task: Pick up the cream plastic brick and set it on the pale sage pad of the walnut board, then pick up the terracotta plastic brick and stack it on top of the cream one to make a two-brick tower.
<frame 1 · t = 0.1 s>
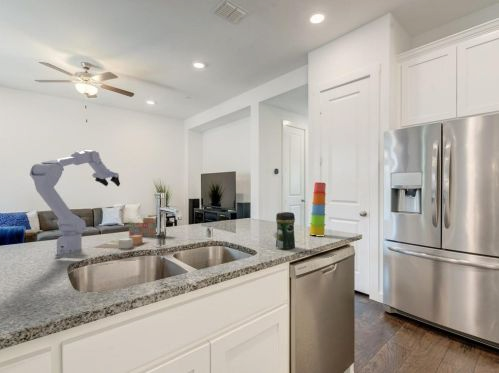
hand: (113, 185, 148), 32 cm above the worktop, tool tilted 50°, fingers open, 7 cm apart
build board: (122, 247, 131), on the worktop
cream brick: (125, 247, 126), point 1 cm above the worktop, touching build board
stack of blocks: (147, 237, 158), on the worktop
coffee jar: (285, 248, 132), on the worktop
terracotta brick: (135, 243, 135), point 1 cm above the worktop, touching build board
stacking cups: (317, 235, 165), on the worktop
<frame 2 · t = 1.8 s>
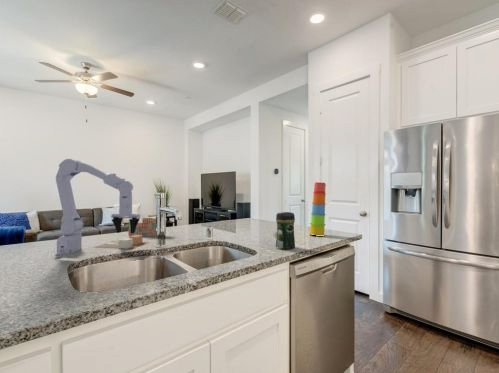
hand: (125, 232, 126), 8 cm above the worktop, tool pointing down, fingers open, 7 cm apart
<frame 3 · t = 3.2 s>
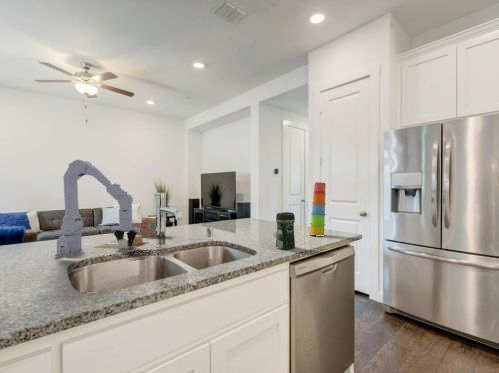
hand: (125, 246, 126), 2 cm above the worktop, tool pointing down, fingers closed on cream brick, 5 cm apart
cream brick: (125, 247, 126), point 1 cm above the worktop, touching build board, gripper
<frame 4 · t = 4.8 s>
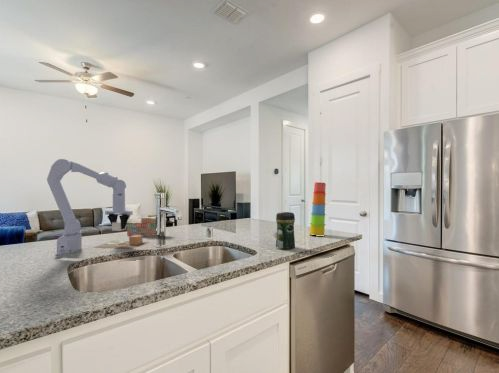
hand: (118, 228, 132), 9 cm above the worktop, tool pointing down, fingers closed on cream brick, 5 cm apart
cream brick: (118, 229, 132), point 9 cm above the worktop, touching gripper
when the fingers open (3 cm above the worktop, at t = 6.8 s): cream brick stays where it is, resting on build board.
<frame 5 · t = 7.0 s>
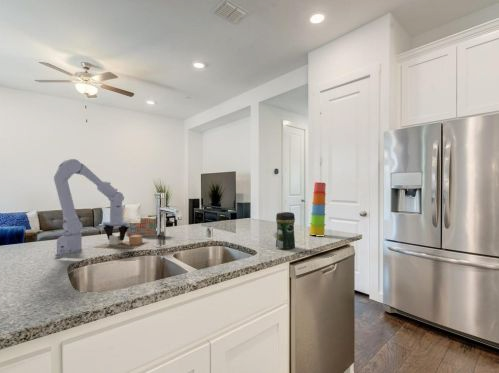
hand: (116, 239, 135), 3 cm above the worktop, tool pointing down, fingers open, 6 cm apart
cream brick: (116, 242, 135), point 1 cm above the worktop, touching build board
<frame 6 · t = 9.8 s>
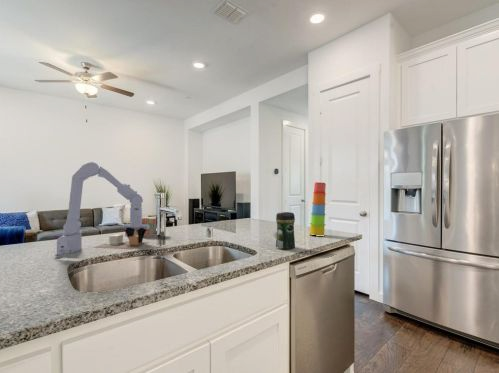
hand: (135, 242, 135), 2 cm above the worktop, tool pointing down, fingers closed on terracotta brick, 5 cm apart
terracotta brick: (135, 243, 135), point 1 cm above the worktop, touching build board, gripper
when the fingers open (7 cm above the worktop, at t = 12.6 s): terracotta brick drops 1 cm, resting on cream brick.
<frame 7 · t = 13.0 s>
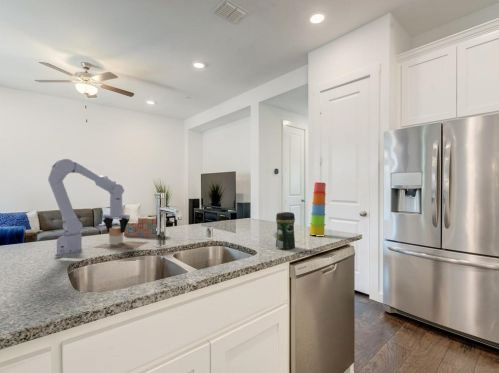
hand: (116, 232, 135), 7 cm above the worktop, tool pointing down, fingers open, 7 cm apart
cream brick: (116, 242, 135), point 1 cm above the worktop, touching build board, terracotta brick
terracotta brick: (116, 235, 135), point 5 cm above the worktop, touching cream brick
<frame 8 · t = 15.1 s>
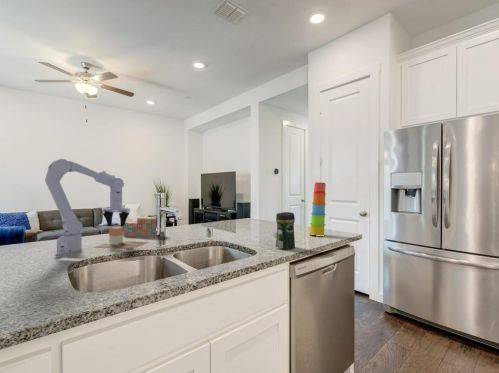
hand: (116, 225, 135), 10 cm above the worktop, tool pointing down, fingers open, 7 cm apart
at the end: cream brick 0.1 cm from the target spot, point 1.4 cm above the worktop; terracotta brick 0.0 cm off-centre on the cream brick, point 4.0 cm above the cream brick's base; terracotta brick tilted 0° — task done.
